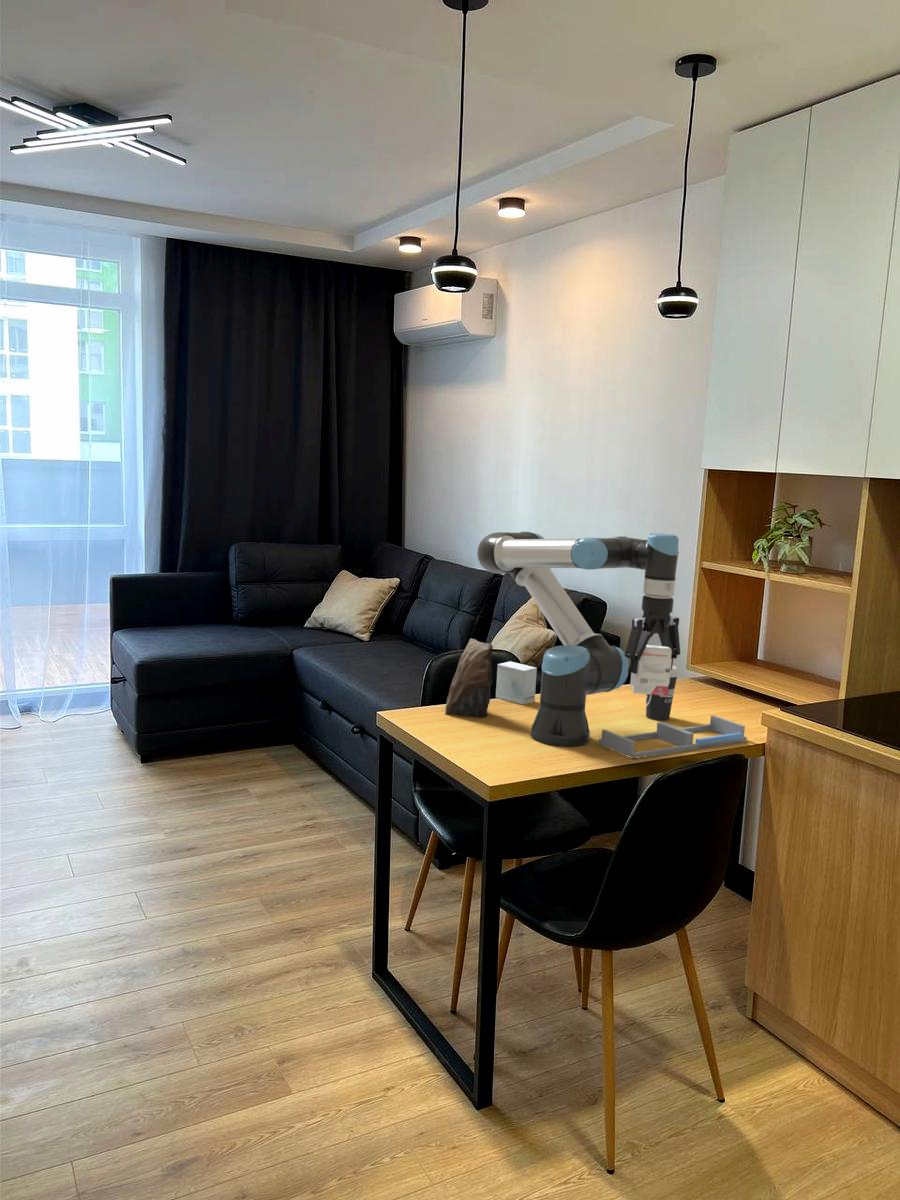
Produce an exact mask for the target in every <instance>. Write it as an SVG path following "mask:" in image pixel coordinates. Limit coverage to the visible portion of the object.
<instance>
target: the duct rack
mask: <svg viewBox="0 0 900 1200" xmlns="http://www.w3.org/2000/svg"><path fill="white" fill-rule="evenodd" d="M745 730H746V725H744V724H741V723H737V722H734V721H732V720H728V719H725V718H722V717H720V716H717V715H714V714H712V715H710V721H709V723H708V724H700V725H696V726H689V727H688V726H687V727H679V726H678V727H677V726H675V725H673V724H669V723H667V722H665V721H664V722H663V721H662V722H661V721H658V722H657V724H656V731H650V732H643V733H638V734H628V735H619V734H617V733H615V732H612V731H609V730H608V729H601V736H600V737H601V738H599V739H598V741H597V744H598V745H599V744H600V745H599V746H601V745H602V746H601V747H604V748H606V747H608V748H610V749H609V750H611V749H613V750H614V751H613V750H612V751H613V752H615V751H617V752H616V753H618V752H619V753H618V754H620V753H622V754H624V755H623V756H625V755H627V756H630V757H632V758H637V757H644V756H651V757H656V755H657V756H662V755H663V756H664V755H668V754H674V753H675V754H676V753H682V752H688V751H694V750H700V749H707V748H715V747H722V746H725V745H726V746H727V745H734V744H741V743H747V742H748V741H747V739H748V736H745ZM704 731H712V732H715V733H718V734H720V735H712V736H707V737H700V738H696V739H695V743H694V735H695V733H697V732H704ZM655 738H657V739H659V740H662V741H664V742H667V743H669V744H672V745H675V746H669V747H663V748H656V749H649V750H644V751H637V752H635V746H636V745H635V744H636V741H640V740H647V739H655ZM608 748H607V749H608ZM622 754H621V755H622ZM654 755H655V756H654ZM627 756H626V757H627ZM632 758H631V759H632ZM644 758H645V757H644Z"/></svg>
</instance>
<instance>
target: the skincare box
mask: <svg viewBox="0 0 900 1200" xmlns="http://www.w3.org/2000/svg"><path fill="white" fill-rule="evenodd" d="M496 669H497V671H496V688H495V698H496V699H497V698H498V699H502V700H505V701H508V702H512V703H514V704H518V705H519V704H520V705H526V704H530V703H534V701H536V689H537V687H536V685H537V672H538V670H537V669H538V667H536V666H535V667H534V666H530V665H527V664H522V663H519V662H515V661H512V660H509V661H506V662H501V663H497V668H496Z"/></svg>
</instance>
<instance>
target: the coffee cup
mask: <svg viewBox="0 0 900 1200" xmlns="http://www.w3.org/2000/svg"><path fill="white" fill-rule="evenodd" d="M679 676H680V674H679V671H678V670H677V667H676V666H675V665H673V666H672V670H671V673H670V683H669V686H668V695H667V696H664V695H652V694H645V717H646V718H647V719H649V720H653V721H659V722H661V721H662V722H663V721H664V722H665V721H668V720H669V719H670V715H671V710H672V706H673V705H672V704H673V701H674V695H675V690H676V689H675V687H676V683H677V678H678V677H679Z"/></svg>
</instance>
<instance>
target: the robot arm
mask: <svg viewBox="0 0 900 1200" xmlns="http://www.w3.org/2000/svg"><path fill="white" fill-rule="evenodd" d="M679 541H680V540H679V537H678V536H677V535H675V534H671V533H663V532H652V533H649V534H648V537H647V539H641V538H633V537H628V536H613V537H608V538H606V537H603V538H602V537H600V538H599V537H598V538H596V537H585V538H545V537H543V536H542V535H541V534H539V533H537V532H531V531H520V532H493V533H490V534H488V535H486V536H484V537H483V538H482V540H481V541H480V542H479V544H478V547H477V551H476V555H477V561H478V562H479V564H480V565H481V567H482V568H483V569H484V570H485V571H487V572H490V573H492V574H497V575H499V574H501V575H502V574H510V576H511V577H512V579H513V580H514V581H515V583H516V584H517V585H518V586H520V587H525V589H526V590H527V592H528V593H529V595H530V597H531V598H532V599H533V601H534V602H535V604H536V605H537V607H538V608H539V610H540V611H541V613H542V615H543V616H544V618H545V619H546V620H547V622H548V623H549V625H550V626H551V628H552V629H553V631H554V633H555V634H556V636H557V637H558V639H559V640H560V642H561V644H562V645H556V646H553V647H550V648H549V649H547V650H546V651H545V652H544V653H543V658H542V663H541V678H540V679H541V680H540V692H539V693H540V694H539V695H540V696H539V707H538V710H537V713H536V715H535V718H534V720H533V723H532V724H531V728H530V737H531V738H532V739H533V740H535V741H537V742H540V743H542V744H543V743H544V744H548V745H553V746H562V747H577V746H582V745H586V744H587V743H589V742H590V738H591V737H590V736H591V730H590V728H589V722H588V717H587V714H586V703H587V701H586V700H587V696H589V695H595V694H601V693H608V692H612V691H614V690H617V689H619V688H621V687H622V686H623V685H624V684H625V683H626V681H627V678H628V676H629V672H630V682H629V684H630V685H631V686H632V685H633V686H636V687H640V680H641V670H642V661H640V658H641V656H642V654H643V652H644V650H645V648H646V645H648V644H649V641H650V640H651V638H652V637H654V635H655V634H657V635H658V636H659V640H660V644H661V646H666V647H670V648H671V650H672V653H671V664H670V673H671V670H672V666H674V665H673V664H674V659H676V660H677V658H678V656H679V655H680V654H681V644H680V635H679V634H680V633H679V624H680V618H679V617H677V616H673V615H672V616H671V614H672V613H673V611H674V610H673V609H674V598H673V596H674V595H675V587H676V575H677V574H676V573H677V566H678V565H677V564H678V559H679V553H680V552H679ZM622 568H623V569H624V568H625V569H627V568H628V569H629V568H630V569H637V570H638V569H639V570H644V580H643V591H642V593H643V594H644V595H643V596H642V601H641V609H642V611H643V614H642V616H641V617H639V618H637V617H632V620H631V629H630V633H629V638H628V641H627V643H626V644H627V645H626V648H625V651H623V649H621V648H620V647H617V646H615V645H610V644H609V643H608V642H607V640H606V639H605V637H604V635H602V634H601V633H595V632H594V631H593V630H592V628H591V627H590V626H589V624H588V622H587V621H586V620H585V618H584V616H583V615H582V613H581V612H580V611H579V609H578V608H577V606H576V605H575V604H574V602H573V600H572V598H571V597H570V596H569V595H568V593H567V592H566V590H565V588H564V586H563V585H562V584H561V582H560V581H559V580H558V578H557V577H556V575H555V574H554V572H553V571H552V570H551V569H582V570H588V571H589V570H599V569H600V570H601V569H622ZM636 654H637V655H636ZM629 659H630V663H629ZM629 664H630V666H629ZM669 683H670V675H669Z"/></svg>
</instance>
